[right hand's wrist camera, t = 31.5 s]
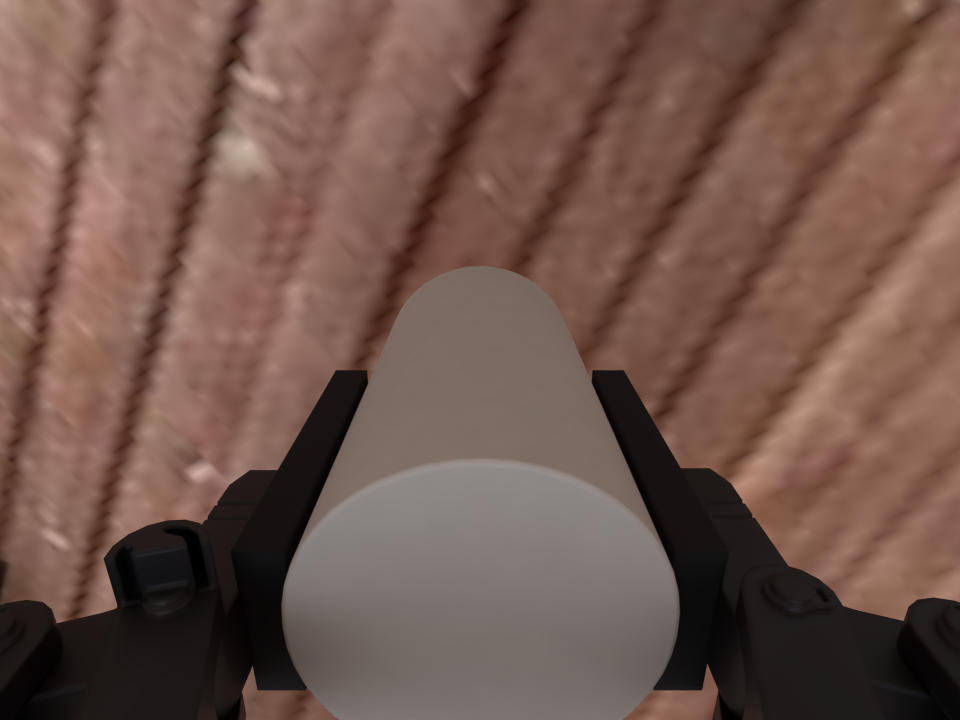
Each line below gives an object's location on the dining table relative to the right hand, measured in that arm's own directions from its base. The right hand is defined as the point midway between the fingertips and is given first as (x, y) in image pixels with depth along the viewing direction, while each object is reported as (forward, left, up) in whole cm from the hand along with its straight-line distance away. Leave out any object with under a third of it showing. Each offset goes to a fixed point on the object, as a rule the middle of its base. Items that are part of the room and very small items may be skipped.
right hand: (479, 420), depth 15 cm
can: (0, 0, -4) cm, 4 cm away
